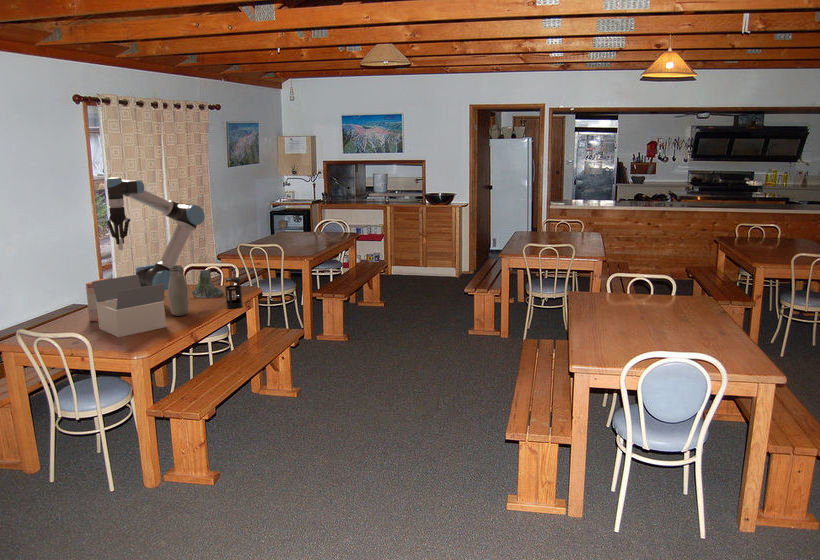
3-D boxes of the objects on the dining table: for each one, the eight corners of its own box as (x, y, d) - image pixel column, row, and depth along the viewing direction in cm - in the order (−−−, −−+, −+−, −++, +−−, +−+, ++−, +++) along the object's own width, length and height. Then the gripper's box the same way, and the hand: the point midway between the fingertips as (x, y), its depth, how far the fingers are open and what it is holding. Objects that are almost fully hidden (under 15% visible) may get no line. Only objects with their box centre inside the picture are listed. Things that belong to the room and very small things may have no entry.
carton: (145, 319, 373) (143, 294, 371) (166, 326, 358) (163, 301, 355) (99, 328, 356) (96, 303, 353) (118, 337, 340) (115, 310, 337)
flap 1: (92, 281, 354) (91, 281, 354) (97, 301, 353) (97, 302, 354) (137, 274, 371) (137, 274, 371) (142, 293, 370) (142, 294, 370)
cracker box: (98, 322, 369) (94, 283, 364) (88, 321, 370) (84, 283, 366) (115, 315, 382) (111, 278, 378) (105, 314, 383) (101, 278, 379)
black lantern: (238, 309, 392) (235, 270, 387) (222, 309, 393) (220, 269, 389) (246, 304, 403) (244, 266, 398) (231, 304, 405) (229, 265, 400)
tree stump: (192, 300, 417) (188, 271, 417) (192, 301, 436) (189, 272, 436) (223, 296, 422) (219, 267, 423) (222, 297, 442) (219, 269, 442)
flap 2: (165, 282, 350) (165, 283, 349) (162, 300, 355) (163, 301, 354) (118, 290, 333) (118, 291, 332) (116, 309, 338) (116, 309, 337)
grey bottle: (169, 318, 375) (164, 267, 369) (172, 313, 385) (168, 264, 379) (187, 317, 376) (183, 267, 371) (190, 312, 386) (186, 263, 380)
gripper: (107, 208, 364) (111, 252, 369) (131, 206, 373) (135, 249, 378) (101, 207, 369) (106, 250, 374) (125, 205, 378) (129, 247, 383)
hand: (120, 249), depth 376 cm, fingers closed
